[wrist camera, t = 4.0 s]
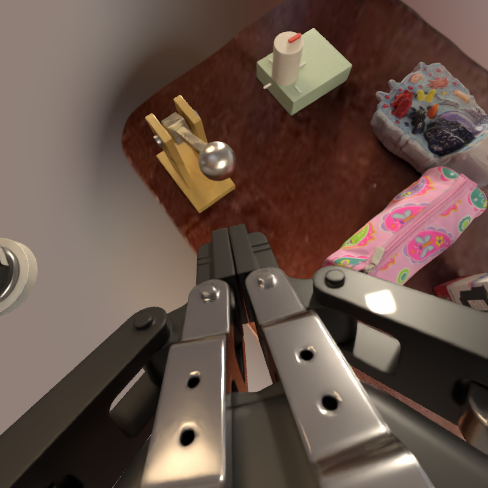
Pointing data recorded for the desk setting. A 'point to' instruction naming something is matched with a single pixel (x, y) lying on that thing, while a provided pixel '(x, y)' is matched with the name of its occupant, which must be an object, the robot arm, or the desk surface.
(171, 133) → the silver metal rod
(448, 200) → the pencil case
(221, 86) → the desk surface
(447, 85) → the cell model
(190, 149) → the bracket
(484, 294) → the ink box
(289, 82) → the knob
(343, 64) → the panel
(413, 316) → the robot arm
